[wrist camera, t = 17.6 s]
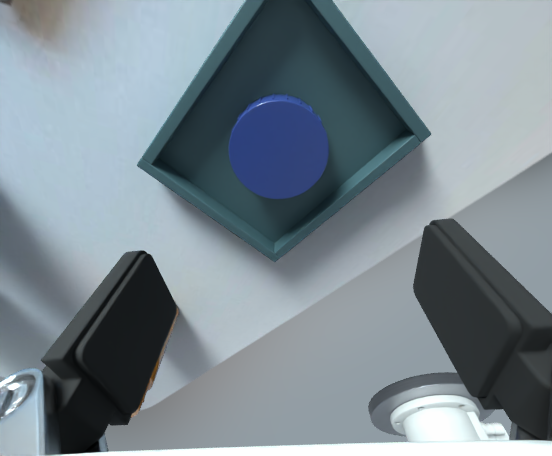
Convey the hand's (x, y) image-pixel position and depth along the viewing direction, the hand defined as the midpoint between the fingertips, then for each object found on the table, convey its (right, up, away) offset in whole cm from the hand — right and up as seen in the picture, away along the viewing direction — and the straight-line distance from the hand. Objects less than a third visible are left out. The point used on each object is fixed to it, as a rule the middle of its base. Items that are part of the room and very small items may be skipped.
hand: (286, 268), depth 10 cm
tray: (0, +8, +11) cm, 13 cm away
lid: (0, +7, +9) cm, 11 cm away
